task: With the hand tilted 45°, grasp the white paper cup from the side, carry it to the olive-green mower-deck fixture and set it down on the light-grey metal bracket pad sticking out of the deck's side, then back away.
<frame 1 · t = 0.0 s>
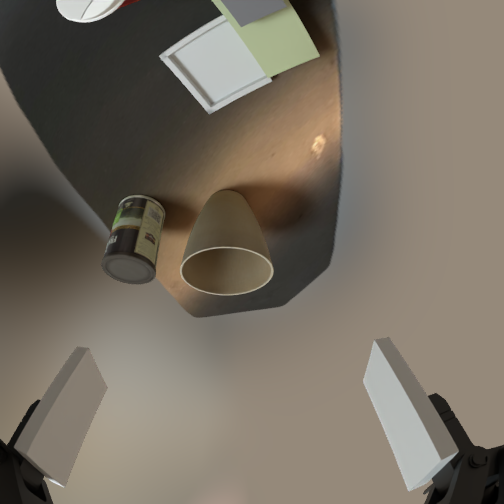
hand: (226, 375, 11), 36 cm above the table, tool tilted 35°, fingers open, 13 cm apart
coffee can: (142, 211, 53), on the table
mower deck: (253, 5, 23), on the table
plant pot: (227, 202, 53), on the table
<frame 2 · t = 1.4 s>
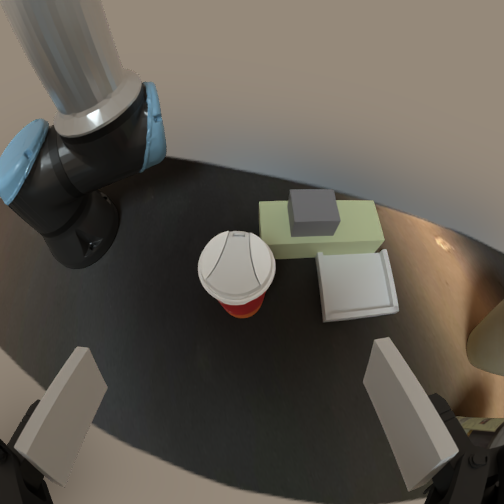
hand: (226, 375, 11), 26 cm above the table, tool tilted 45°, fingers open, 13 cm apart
coffee can: (450, 443, 27), on the table
paper cup: (242, 300, 39), on the table
mower deck: (316, 236, 43), on the table
plant pot: (477, 346, 34), on the table
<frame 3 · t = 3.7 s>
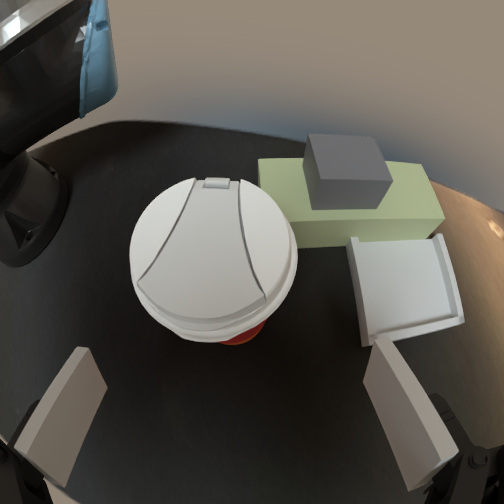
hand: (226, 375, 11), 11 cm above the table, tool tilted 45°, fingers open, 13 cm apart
paper cup: (233, 315, 24), on the table
mower deck: (345, 215, 28), on the table
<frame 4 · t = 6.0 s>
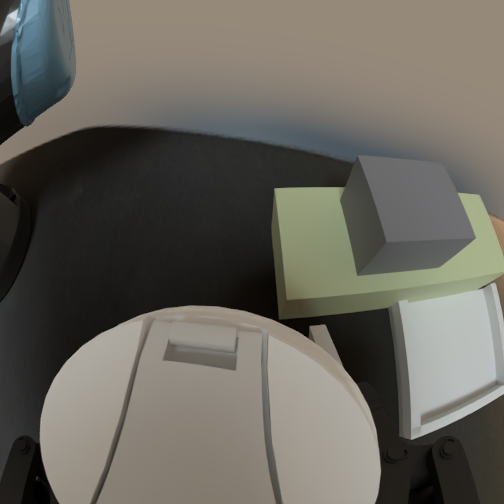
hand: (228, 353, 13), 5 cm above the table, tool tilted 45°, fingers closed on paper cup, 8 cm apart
paper cup: (238, 408, 16), on the table, touching gripper
mower deck: (387, 263, 20), on the table
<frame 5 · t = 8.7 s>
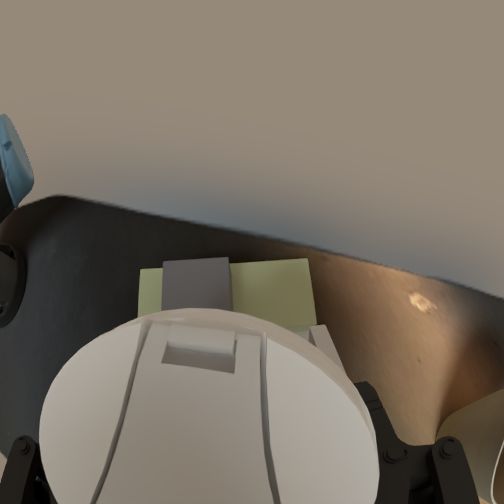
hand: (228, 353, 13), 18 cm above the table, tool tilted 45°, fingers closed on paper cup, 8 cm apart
paper cup: (238, 409, 16), point 13 cm above the table, touching gripper
mower deck: (227, 308, 32), on the table
plant pot: (452, 433, 23), on the table
when the fingers open (7 cm above the table, at t = 11.5 s): paper cup drops 1 cm, resting on mower deck.
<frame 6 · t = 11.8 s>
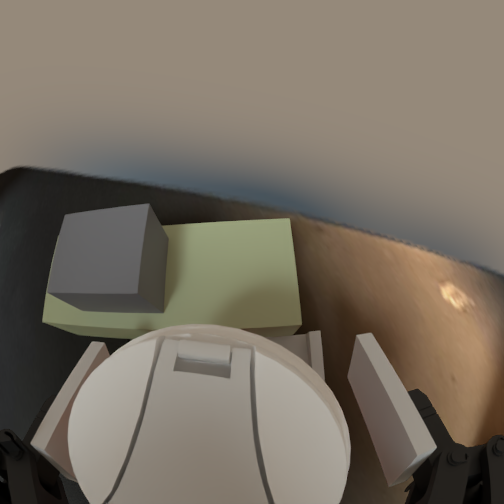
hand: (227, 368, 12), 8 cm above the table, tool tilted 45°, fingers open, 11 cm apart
paper cup: (235, 407, 17), resting on mower deck
mower deck: (172, 296, 21), on the table
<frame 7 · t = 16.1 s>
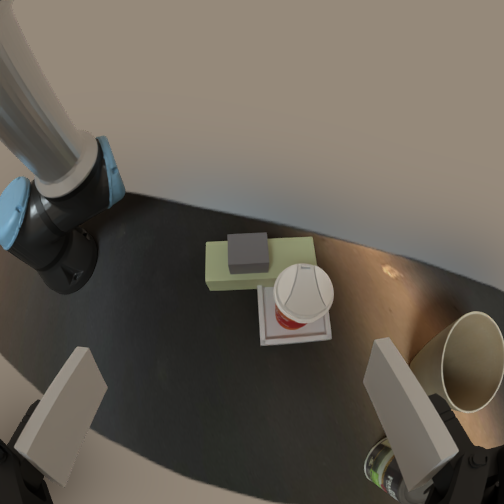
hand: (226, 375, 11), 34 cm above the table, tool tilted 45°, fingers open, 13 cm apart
coffee can: (389, 459, 33), on the table
paper cup: (291, 314, 45), resting on mower deck
mower deck: (260, 269, 49), on the table
plant pot: (422, 370, 40), on the table
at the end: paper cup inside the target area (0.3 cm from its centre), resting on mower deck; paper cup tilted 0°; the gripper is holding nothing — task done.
